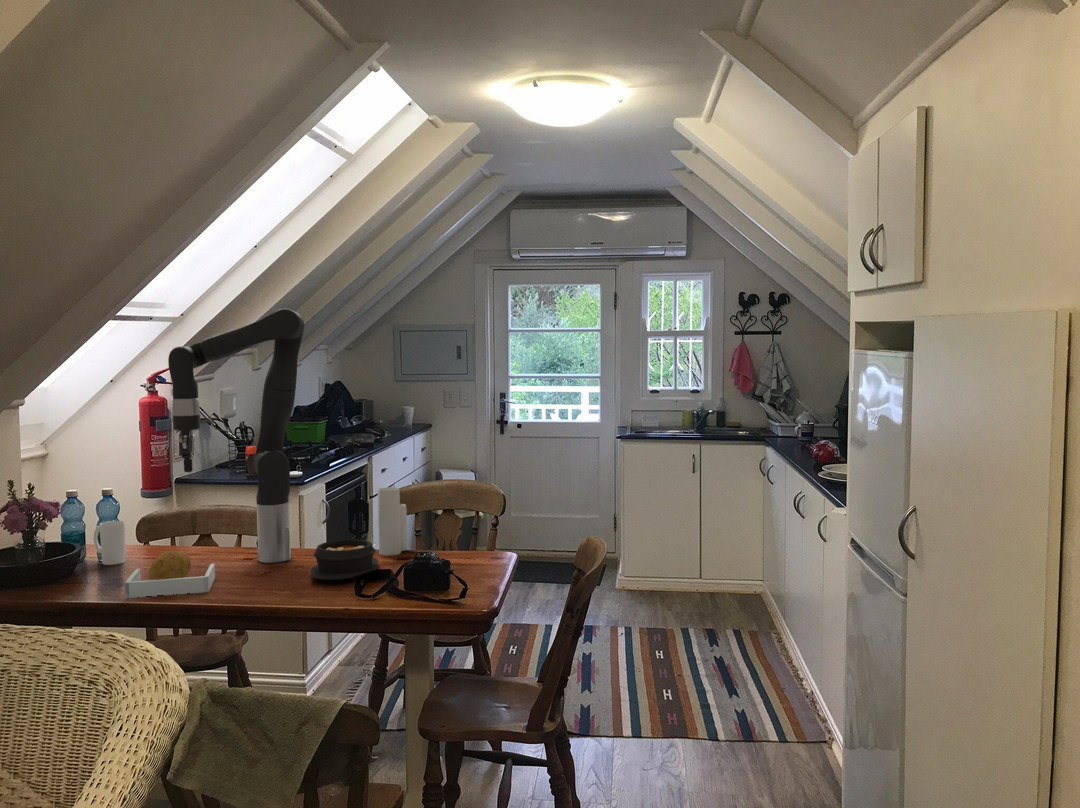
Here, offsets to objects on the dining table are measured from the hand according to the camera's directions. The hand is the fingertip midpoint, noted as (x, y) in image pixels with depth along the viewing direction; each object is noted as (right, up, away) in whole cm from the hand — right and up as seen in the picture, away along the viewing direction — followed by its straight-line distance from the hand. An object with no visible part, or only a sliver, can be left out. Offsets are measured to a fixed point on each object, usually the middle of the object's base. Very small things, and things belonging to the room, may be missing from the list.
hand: (188, 471), depth 258 cm
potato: (+6, -29, -26) cm, 39 cm away
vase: (+59, -26, +11) cm, 65 cm away
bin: (+7, -29, -28) cm, 41 cm away
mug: (-24, -28, +2) cm, 37 cm away
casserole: (+50, -28, -16) cm, 60 cm away
